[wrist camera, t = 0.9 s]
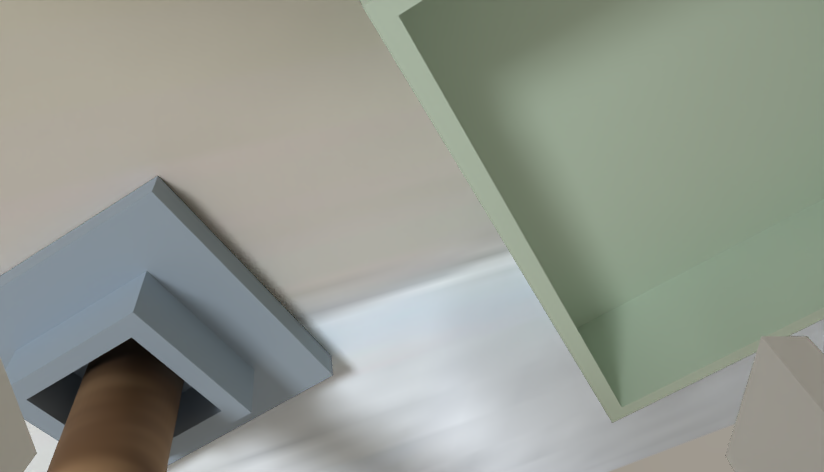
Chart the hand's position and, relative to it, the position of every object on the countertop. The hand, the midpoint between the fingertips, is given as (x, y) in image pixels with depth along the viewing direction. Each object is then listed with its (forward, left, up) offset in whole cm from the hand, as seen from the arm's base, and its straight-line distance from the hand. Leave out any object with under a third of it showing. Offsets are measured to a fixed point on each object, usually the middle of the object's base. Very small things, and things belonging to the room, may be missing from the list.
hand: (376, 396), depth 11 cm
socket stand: (+7, -16, -19) cm, 26 cm away
